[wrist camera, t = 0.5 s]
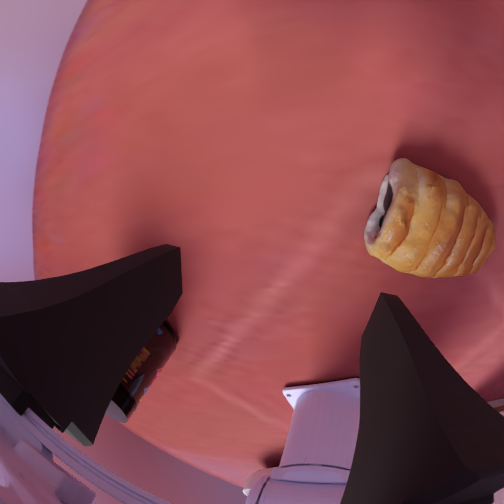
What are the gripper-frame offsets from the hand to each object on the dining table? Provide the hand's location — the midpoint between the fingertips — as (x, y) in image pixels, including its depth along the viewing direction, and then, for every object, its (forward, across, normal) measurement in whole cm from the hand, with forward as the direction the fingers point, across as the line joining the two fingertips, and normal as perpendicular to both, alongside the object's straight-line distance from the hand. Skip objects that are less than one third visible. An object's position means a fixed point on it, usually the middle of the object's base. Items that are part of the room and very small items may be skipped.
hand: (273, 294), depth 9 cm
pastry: (+10, -8, -1) cm, 13 cm away
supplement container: (+10, +13, +16) cm, 23 cm away
